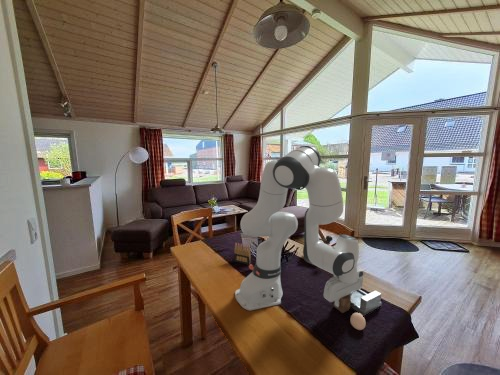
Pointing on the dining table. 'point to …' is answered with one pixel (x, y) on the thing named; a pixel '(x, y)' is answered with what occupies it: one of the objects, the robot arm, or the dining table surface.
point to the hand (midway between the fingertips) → (342, 303)
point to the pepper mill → (328, 239)
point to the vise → (365, 301)
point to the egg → (358, 321)
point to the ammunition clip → (242, 254)
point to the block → (344, 304)
